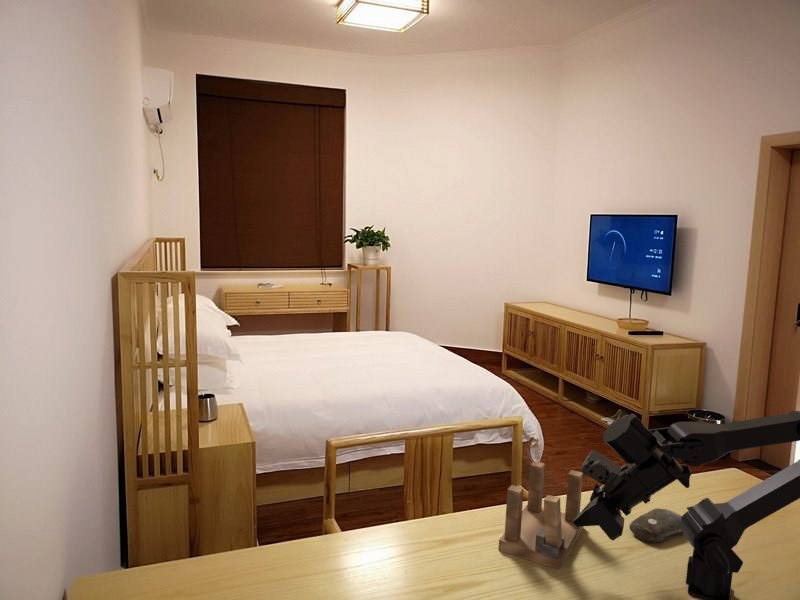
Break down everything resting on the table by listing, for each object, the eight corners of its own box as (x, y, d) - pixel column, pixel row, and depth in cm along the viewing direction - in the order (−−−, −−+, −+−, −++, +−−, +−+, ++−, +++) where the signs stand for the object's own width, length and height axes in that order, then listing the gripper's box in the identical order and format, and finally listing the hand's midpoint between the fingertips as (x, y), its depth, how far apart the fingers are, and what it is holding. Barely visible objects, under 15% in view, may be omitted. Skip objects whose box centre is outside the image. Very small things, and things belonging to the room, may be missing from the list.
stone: (642, 532, 118) (615, 509, 128) (643, 552, 118) (616, 528, 128) (703, 519, 120) (672, 498, 130) (704, 539, 121) (673, 516, 130)
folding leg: (562, 548, 112) (560, 496, 111) (558, 555, 109) (556, 502, 109) (549, 545, 113) (547, 494, 112) (545, 552, 111) (543, 500, 110)
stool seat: (583, 527, 124) (587, 472, 123) (559, 571, 108) (564, 508, 107) (527, 512, 130) (531, 459, 129) (497, 551, 114) (500, 491, 113)
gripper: (617, 425, 113) (555, 469, 119) (605, 459, 96) (533, 509, 103) (658, 473, 111) (593, 515, 117) (653, 516, 94) (578, 563, 100)
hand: (575, 523), depth 109 cm, fingers closed
